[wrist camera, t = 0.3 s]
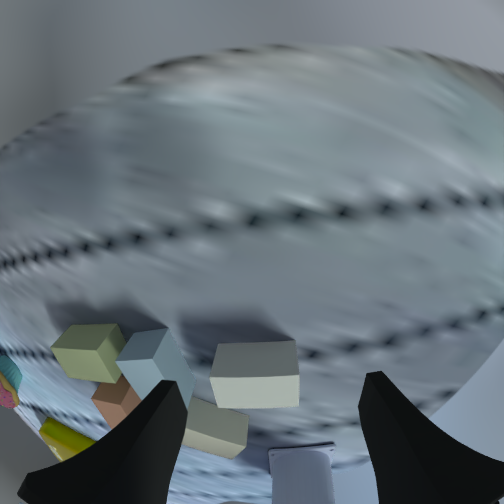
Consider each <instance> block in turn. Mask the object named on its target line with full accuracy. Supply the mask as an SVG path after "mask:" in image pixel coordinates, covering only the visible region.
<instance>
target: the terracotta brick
mask: <svg viewBox="0 0 504 504" xmlns="http://www.w3.org/2000/svg"><path fill="white" fill-rule="evenodd" d="M91 399H92V401H93V402H94V404H95V405H96V407H97V408H98V410H99V411H100V413H101V414H102V416H103V417H104V419H105V420H106V422H107V423H108V425H109V426H110V427H111V429H113V428H114V427H116V426H117V425H118V424H119V423H120V422H121V421H122V420H123V419H124V418H125V417H126V416H128V415H129V413H130V412H131V411H132V410H133V409H134V408H135V407H136V406H137V405H138V404H139V403H140V402H141V401H142V400H141V399H140V397H139V396H138V395H137V393H136V392H135V390H134V389H133V388H132V386H131V385H130V383H129V382H128V380H127V379H126V377H125V376H120V377H119V379H118V380H117V382H116V384H115V383H105V382H101V384H100V385H99V387H98V388H97V390H96V392H95V393H94V395H93V396H92V398H91Z"/></svg>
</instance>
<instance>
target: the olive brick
mask: <svg viewBox="0 0 504 504" xmlns="http://www.w3.org/2000/svg"><path fill="white" fill-rule="evenodd" d="M126 344H127V343H126V341H125V339H124V337H123V335H122V332H121V330H120V328H119V326H118V324H117V323H116V324H86V325H71V326H70V327H69V328H68V329H67V330H66V331H65V332H64V333H63V334H62V335H61V336H60V337H59V338H58V339H57V341H56V342H55V343H54V344H53V345H52V346H51V347H50V348H51V350H52V352H53V353H54V355H55V357H56V358H57V360H58V362H59V363H60V365H61V367H62V368H63V370H64V371H65V373H66V375H67V376H68V377H69V378H75V379H82V380H89V381H97V382H105V383H115V384H116V382H117V380H118V379H119V377H120V375H121V374H122V371H121V370H120V368H119V367H118V365H117V364H116V362H115V360H116V359H117V357H118V356H119V354H120V353H121V351H122V350H123V348H124V347H125V345H126Z"/></svg>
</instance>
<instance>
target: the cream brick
mask: <svg viewBox="0 0 504 504" xmlns="http://www.w3.org/2000/svg"><path fill="white" fill-rule="evenodd" d="M187 411H188V417H187V423H186V429H185V434H184V437H183V441H182V444H183V445H186V446H188V447H191V448H194V449H197V450H200V451H204V452H207V453H210V454H214V455H217V456H221V457H224V458H228V459H233V458H234V457H236V456H237V455H238V454H239V453H240V452H241V451H242V450H243V449H244V448H245V447H246V445H247V434H248V423H249V416H248V415H245V414H242V413H238V412H235V411H232V410H229V409H226V408H218V406H217V405H214V404H211V403H209V402H206V401H203V400H201V399H198V398H195V397H193V396H192V397H191V400H190V403H189V406H188V410H187Z"/></svg>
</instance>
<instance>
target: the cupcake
mask: <svg viewBox="0 0 504 504" xmlns="http://www.w3.org/2000/svg"><path fill="white" fill-rule="evenodd" d="M21 380H22V375H21V372H20V370H19V369H18V367H17V366H16V365H15V363H14V362H13V361H12V360H11V359H10V358H9V357H7V356H5V355H2V356H0V405H1V406H4V407H7V408H14V407H17V406H18V405H19V397H18V395H17V394H18V389H19V385H20V383H21Z"/></svg>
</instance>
